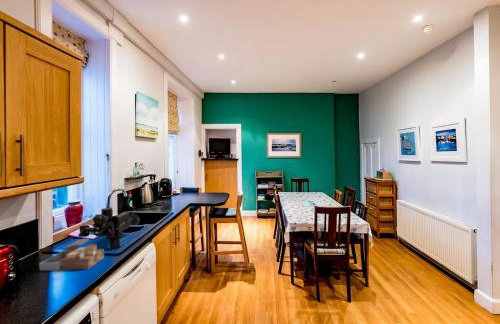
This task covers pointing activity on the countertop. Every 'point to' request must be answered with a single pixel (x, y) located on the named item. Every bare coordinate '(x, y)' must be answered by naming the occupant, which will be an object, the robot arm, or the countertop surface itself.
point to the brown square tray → (83, 261)
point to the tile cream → (81, 249)
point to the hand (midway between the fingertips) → (87, 235)
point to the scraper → (88, 250)
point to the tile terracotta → (73, 255)
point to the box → (54, 262)
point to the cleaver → (75, 244)
